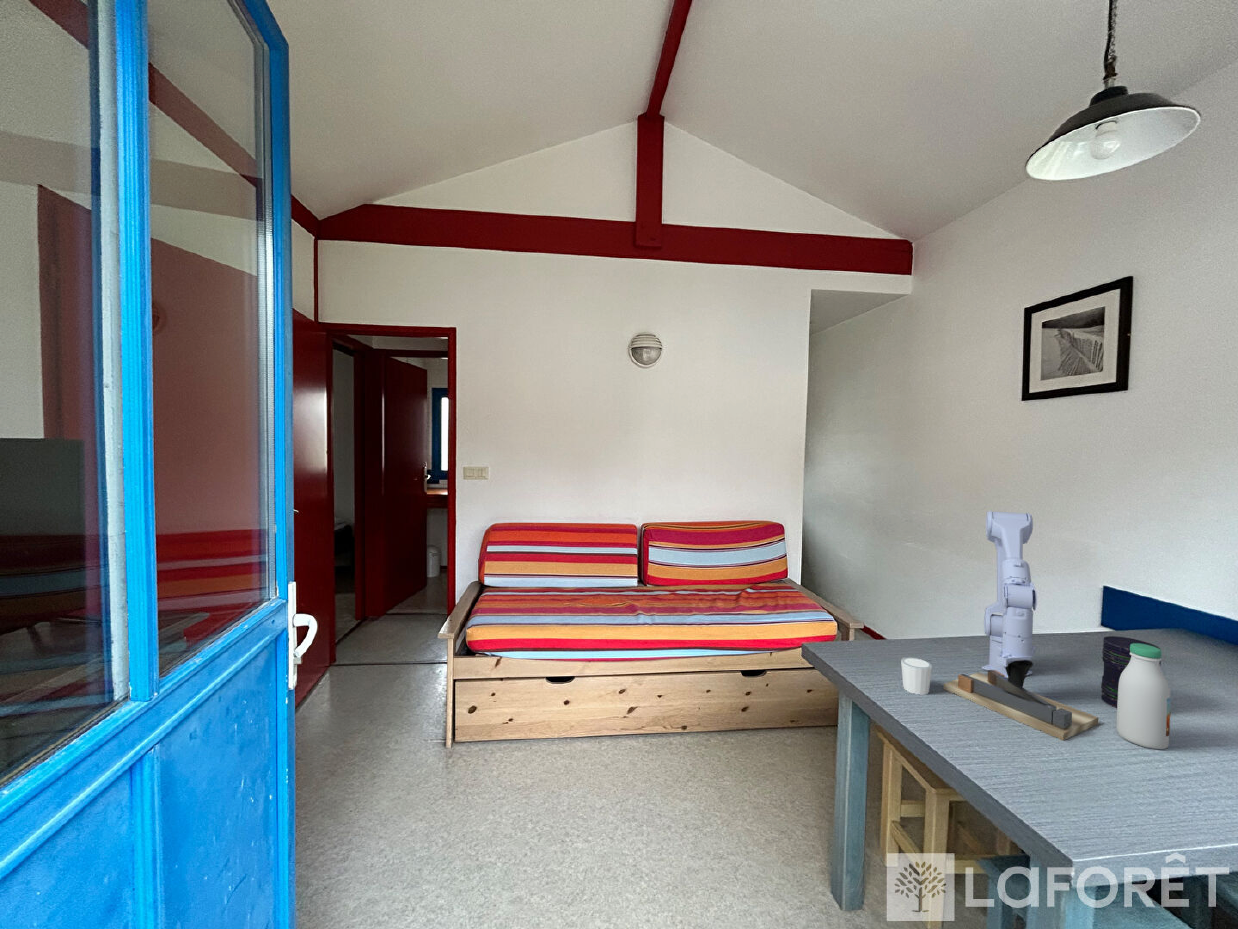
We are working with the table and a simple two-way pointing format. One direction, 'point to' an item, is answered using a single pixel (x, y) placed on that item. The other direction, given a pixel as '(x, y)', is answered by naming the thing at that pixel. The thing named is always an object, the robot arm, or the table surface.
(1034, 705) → the tongs fixed arm
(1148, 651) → the milk bottle
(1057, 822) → the table surface
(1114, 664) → the storage jar
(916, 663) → the white cup
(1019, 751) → the table surface
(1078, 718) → the board
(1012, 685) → the arm
